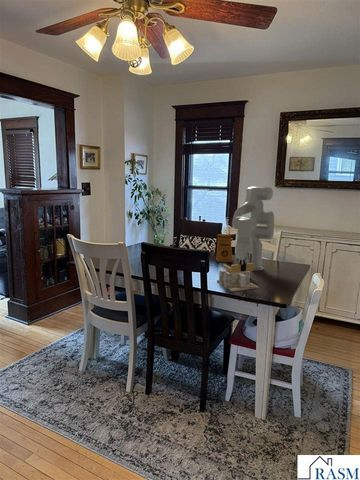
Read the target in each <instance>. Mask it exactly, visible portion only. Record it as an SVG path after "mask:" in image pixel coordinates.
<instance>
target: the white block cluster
mask: <svg viewBox="0 0 360 480" xmlns="http://www.w3.org/2000/svg"><path fill="white" fill-rule="evenodd" d="M218 272H219V275H218V279H217V280H216V283H218V284H220V285H221V286H222V287H224V288H226V289H227V290H228V291H229V292H238V291H246V290H255V289H256V290H257V289H259V285H256V284H255V283H253V282H251V278H250V271H246V272H235V273H232V272H230V271H228V270H226V269H219V271H218Z"/></svg>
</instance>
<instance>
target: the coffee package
mask: <svg viewBox="0 0 360 480" xmlns="http://www.w3.org/2000/svg"><path fill="white" fill-rule="evenodd" d="M216 237H217V240H216V241H217V243H216V244H217V245H216V255H215V261H216V262H219V263H232V261H233V247H232V234H229V233H228V234H227V233H226V234H224V233H221V234H220V233H217V235H216Z"/></svg>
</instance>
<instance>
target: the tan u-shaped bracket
mask: <svg viewBox="0 0 360 480" xmlns="http://www.w3.org/2000/svg"><path fill="white" fill-rule="evenodd" d="M241 265H242V264H236V263H235V264H231V265H230V266H229V265H227V264H226V263H224V264H222V268H223V269H224V270H228V271H230V272H232V273H235V272H246V271H251V272H253V271H255V270H254V263H247V265H246V271H241Z"/></svg>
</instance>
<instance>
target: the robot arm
mask: <svg viewBox="0 0 360 480" xmlns="http://www.w3.org/2000/svg"><path fill="white" fill-rule="evenodd" d="M273 192H274V191H273V188H272V187H271V186H249V187H247V188H246V191H245V193H246V196H245V199H244V203H243V204H241V205H240V206H239V207H237V209H236V210H235V211H234V214H233V217H232V223H231V225H232V228H233V229H235V230H237V232H236V233H237V235H236V245H235V252H234V257H235V258H236V260H237V259H238V260H239V263H240V264H242V265H241V271H246V265H247V263H248V262H249V259H250V254H252V260H251V263H254V271H263V270H264V266H262V262H263V261H262V260H263V259H262V258H263V243H262V241H261V240H272V239H273V238H274V235H275V234H274V233H275V232H274V231H275V228H274V227H275V215H274V214H275V213H274V212H273V211H272V210H264V201H271V200H272V198H273V195H274V193H273ZM249 213H250V216H244V215H246V214H249Z"/></svg>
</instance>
